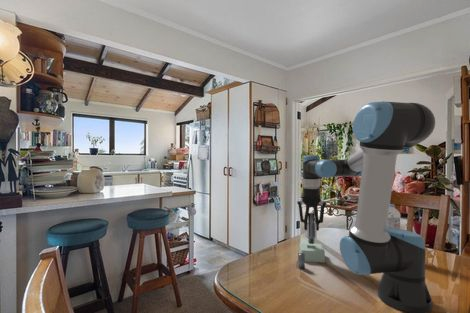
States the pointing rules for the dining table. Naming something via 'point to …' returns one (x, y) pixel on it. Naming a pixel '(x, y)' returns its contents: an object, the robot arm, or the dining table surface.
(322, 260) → the hole block
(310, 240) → the long pin
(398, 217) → the water bottle
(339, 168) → the robot arm
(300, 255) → the short pin
